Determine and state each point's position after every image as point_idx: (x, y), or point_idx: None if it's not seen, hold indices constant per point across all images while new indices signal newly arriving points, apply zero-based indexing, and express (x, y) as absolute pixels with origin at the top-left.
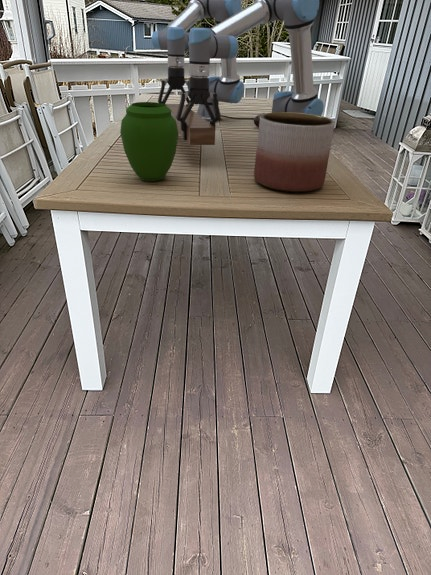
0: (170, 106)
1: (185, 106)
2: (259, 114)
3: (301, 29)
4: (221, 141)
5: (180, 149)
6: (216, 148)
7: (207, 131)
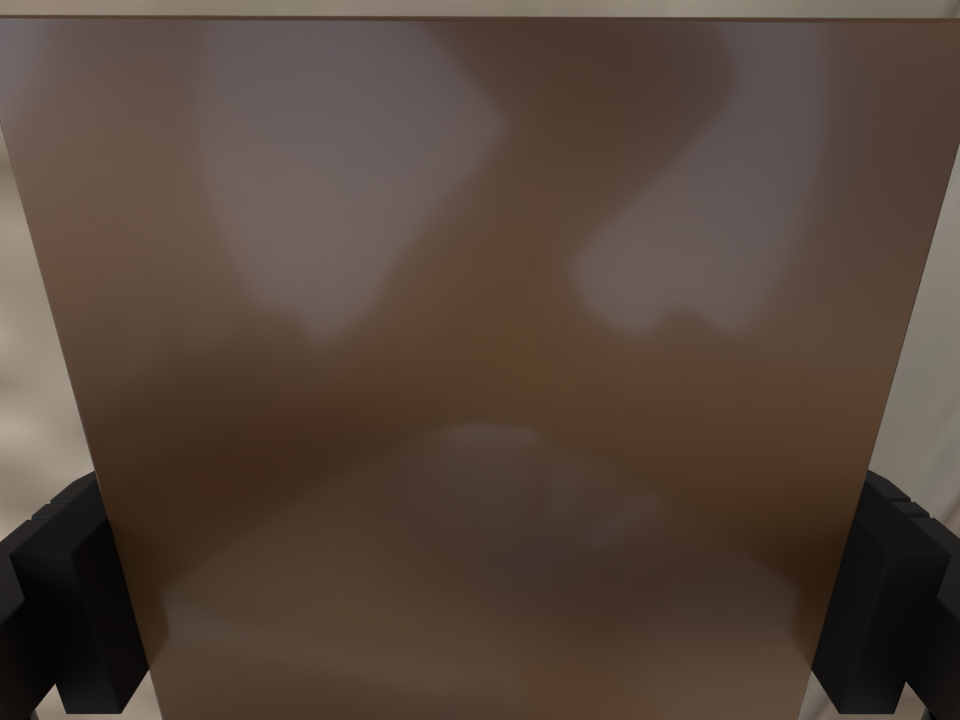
0: (274, 625)
1: (776, 630)
2: None
3: None
4: (956, 489)
5: None
6: None
7: None
